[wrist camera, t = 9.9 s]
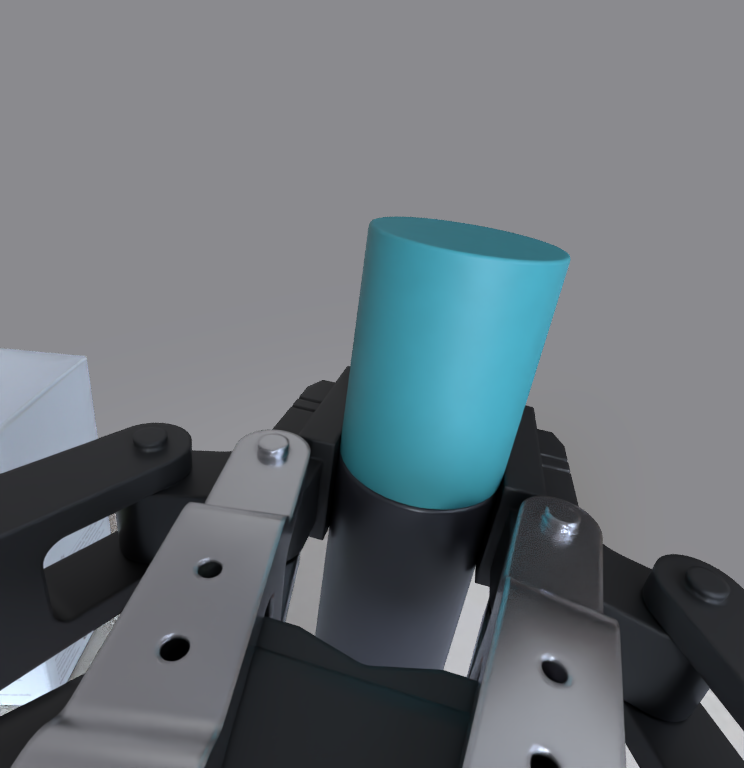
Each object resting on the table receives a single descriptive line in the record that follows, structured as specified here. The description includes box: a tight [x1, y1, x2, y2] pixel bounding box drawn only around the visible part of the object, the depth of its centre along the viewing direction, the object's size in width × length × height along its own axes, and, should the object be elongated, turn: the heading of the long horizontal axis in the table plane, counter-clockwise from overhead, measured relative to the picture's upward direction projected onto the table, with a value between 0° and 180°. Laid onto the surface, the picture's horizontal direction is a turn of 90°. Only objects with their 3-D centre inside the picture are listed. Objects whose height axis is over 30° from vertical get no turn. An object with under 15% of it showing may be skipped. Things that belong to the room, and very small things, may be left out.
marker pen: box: [315, 217, 570, 670], centre depth 11 cm, size 3×3×16 cm
